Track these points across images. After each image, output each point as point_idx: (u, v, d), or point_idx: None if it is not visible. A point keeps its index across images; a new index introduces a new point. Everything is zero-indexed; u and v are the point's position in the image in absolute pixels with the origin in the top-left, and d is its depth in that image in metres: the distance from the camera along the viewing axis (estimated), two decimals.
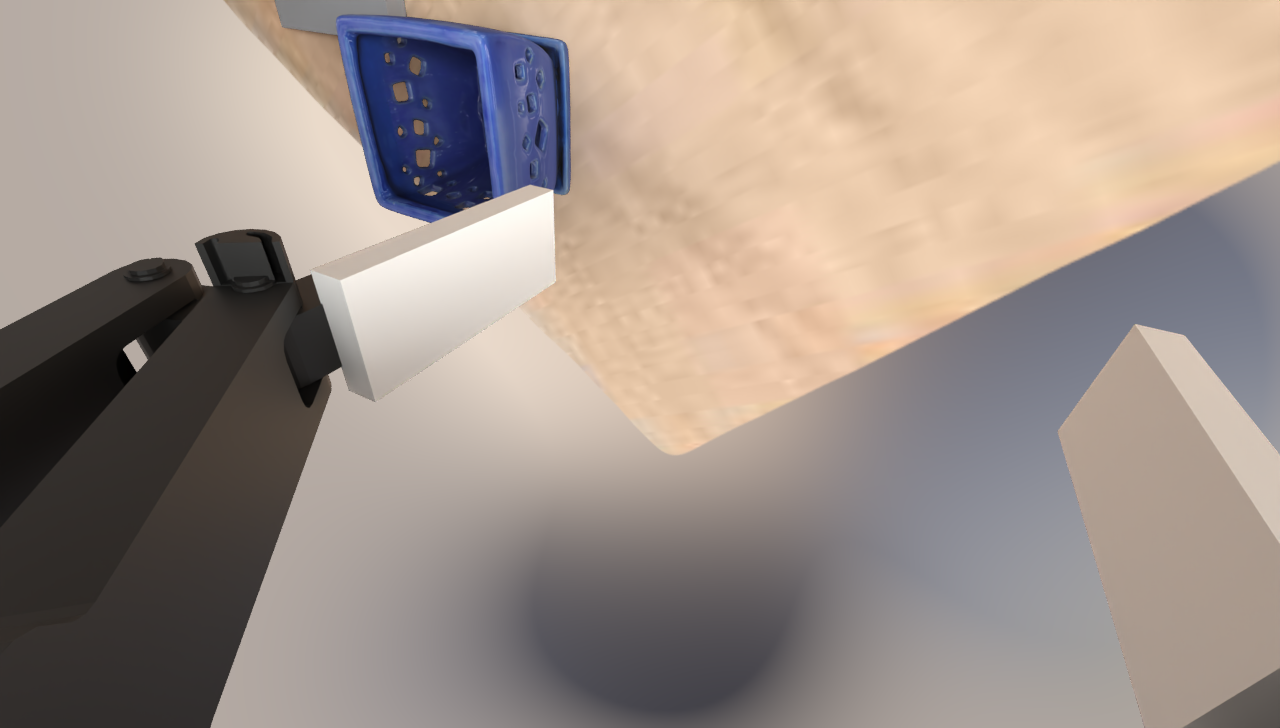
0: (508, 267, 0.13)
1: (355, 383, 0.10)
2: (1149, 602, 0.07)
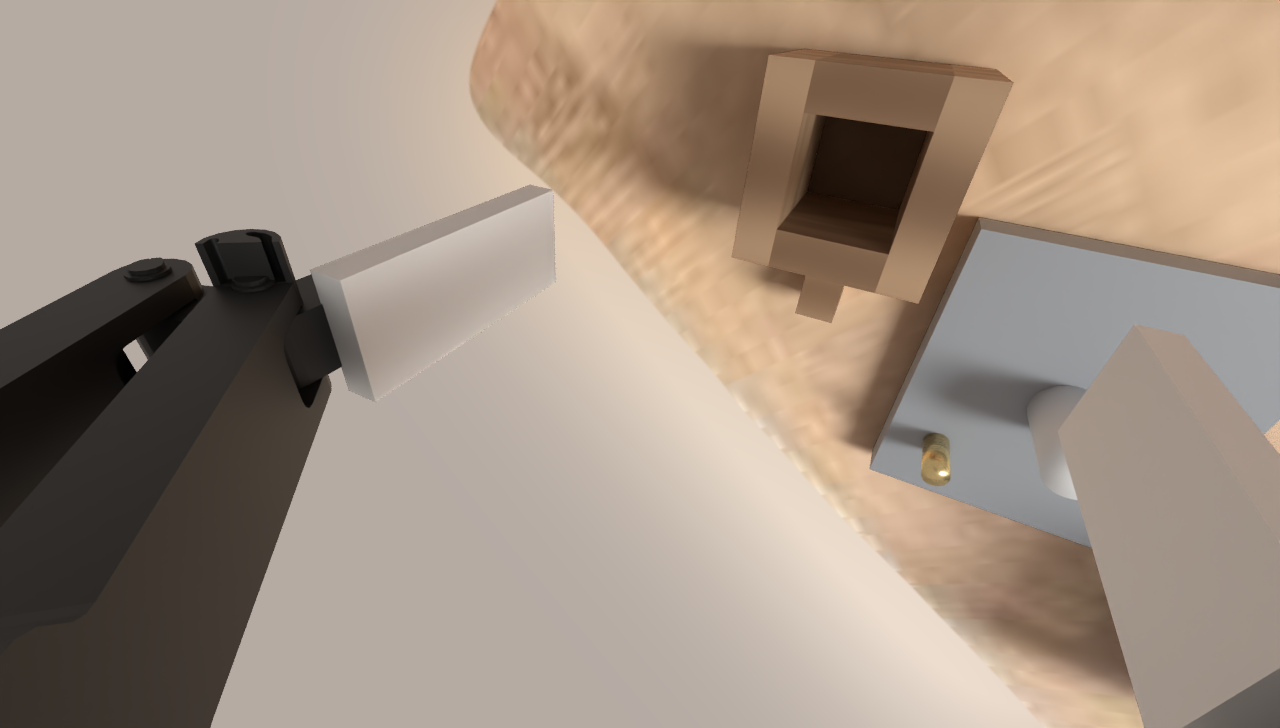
0: (508, 267, 0.13)
1: (355, 383, 0.10)
2: (1149, 602, 0.07)
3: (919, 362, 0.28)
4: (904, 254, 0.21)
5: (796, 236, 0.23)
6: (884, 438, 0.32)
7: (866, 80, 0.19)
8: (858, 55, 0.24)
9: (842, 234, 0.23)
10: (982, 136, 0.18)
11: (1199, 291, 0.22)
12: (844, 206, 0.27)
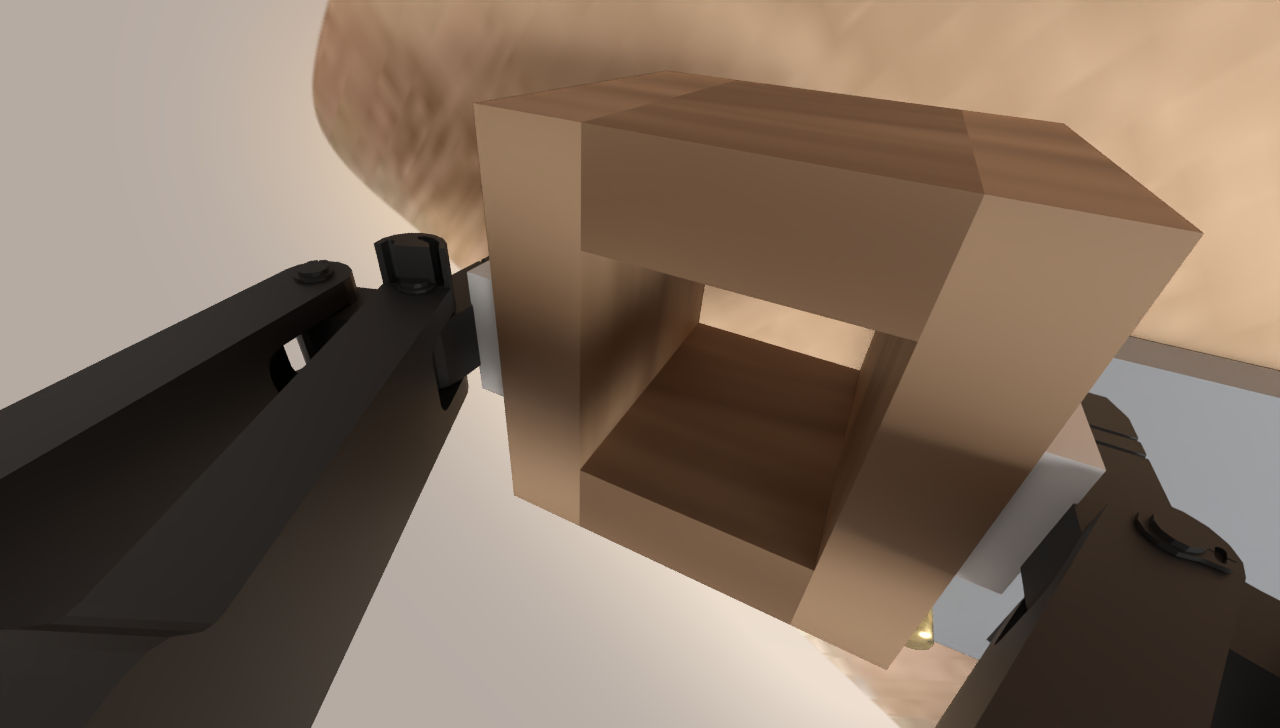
0: None
1: (491, 381, 0.11)
2: None
3: None
4: (849, 579, 0.09)
5: (620, 491, 0.10)
6: None
7: (720, 186, 0.06)
8: (763, 87, 0.11)
9: (724, 479, 0.11)
10: (1070, 376, 0.06)
11: None
12: (756, 366, 0.14)
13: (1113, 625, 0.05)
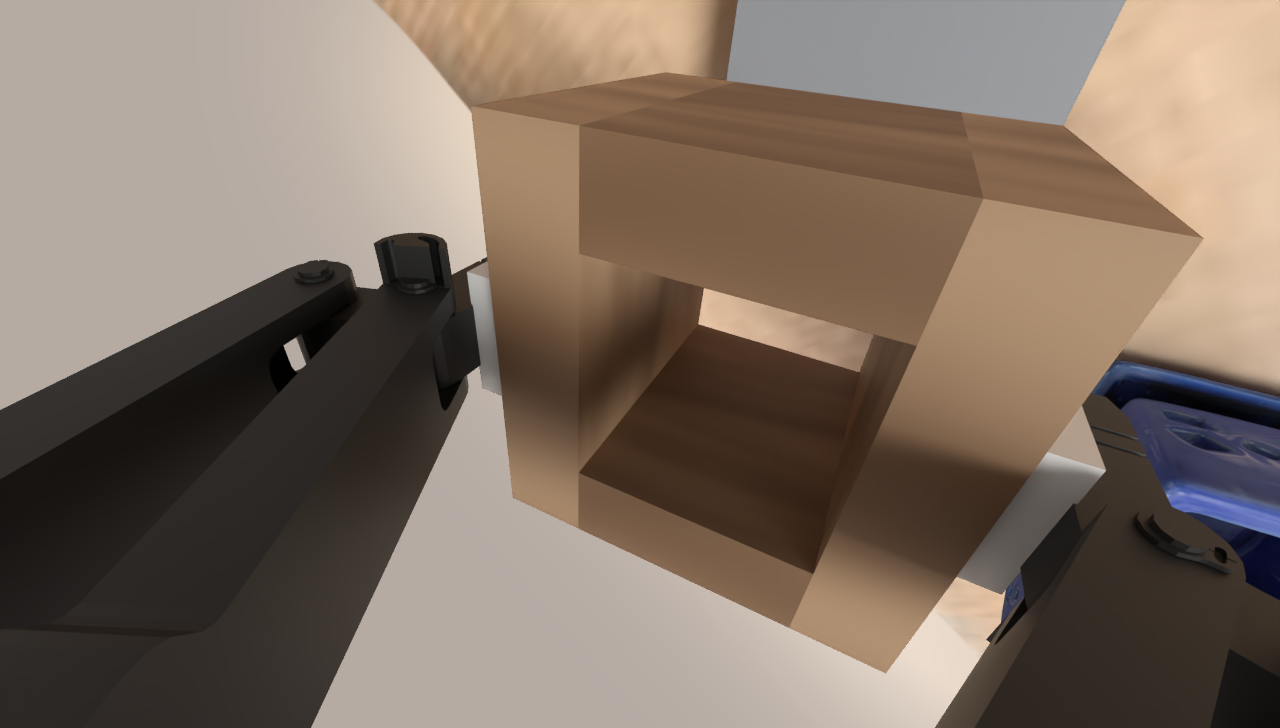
0: None
1: (491, 381, 0.11)
2: None
3: None
4: (849, 583, 0.09)
5: (619, 494, 0.10)
6: None
7: (717, 190, 0.06)
8: (763, 89, 0.11)
9: (723, 481, 0.11)
10: (1069, 381, 0.06)
11: None
12: (755, 368, 0.14)
13: (1113, 625, 0.05)
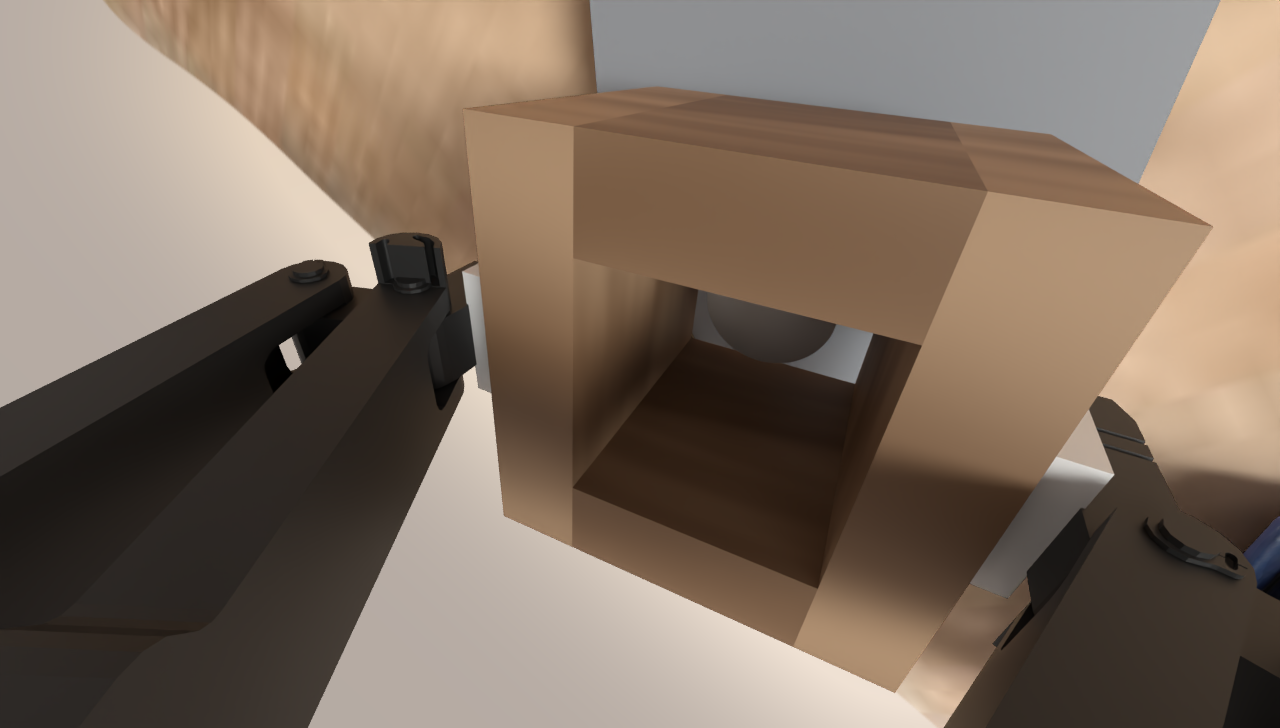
0: None
1: (487, 381, 0.11)
2: None
3: None
4: (855, 596, 0.08)
5: (614, 509, 0.10)
6: None
7: (716, 188, 0.06)
8: (754, 101, 0.11)
9: (722, 495, 0.10)
10: (1079, 377, 0.06)
11: None
12: (750, 380, 0.14)
13: (1122, 631, 0.05)
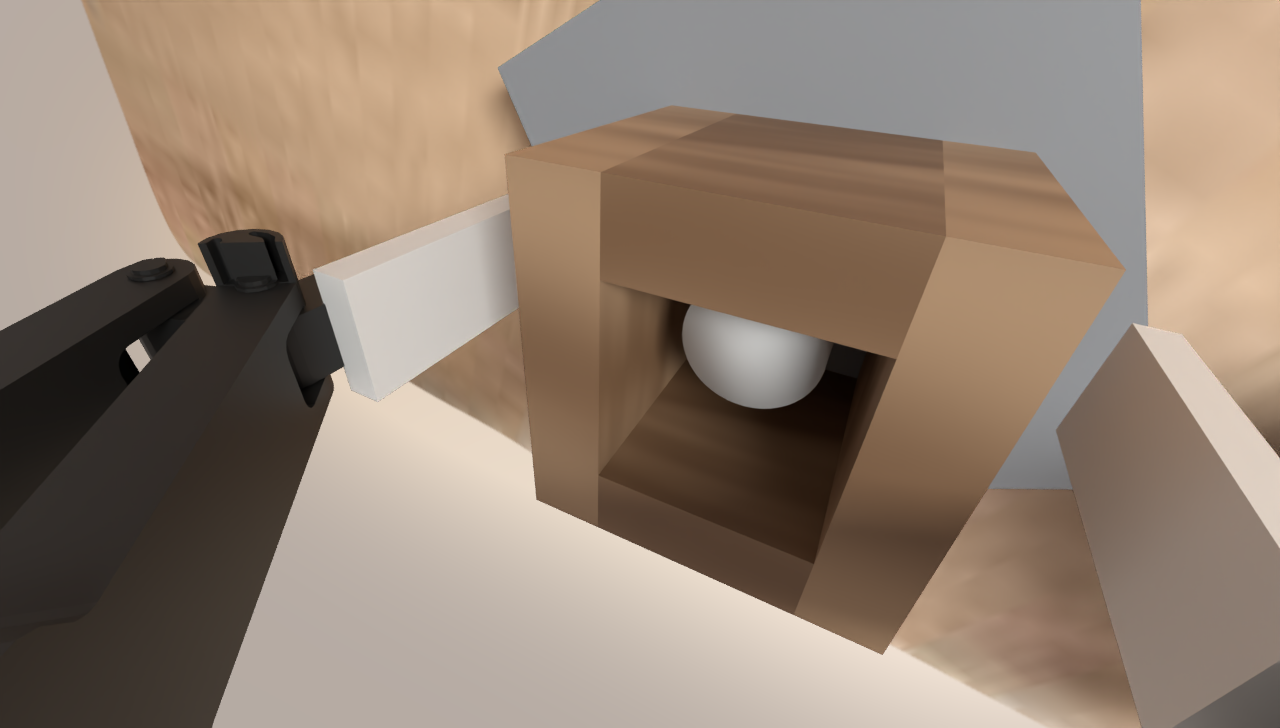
0: (510, 267, 0.13)
1: (357, 383, 0.10)
2: (1146, 599, 0.07)
3: None
4: (845, 570, 0.10)
5: (635, 494, 0.11)
6: None
7: (721, 227, 0.07)
8: (761, 121, 0.12)
9: (730, 482, 0.12)
10: (1026, 388, 0.07)
11: None
12: None
13: None
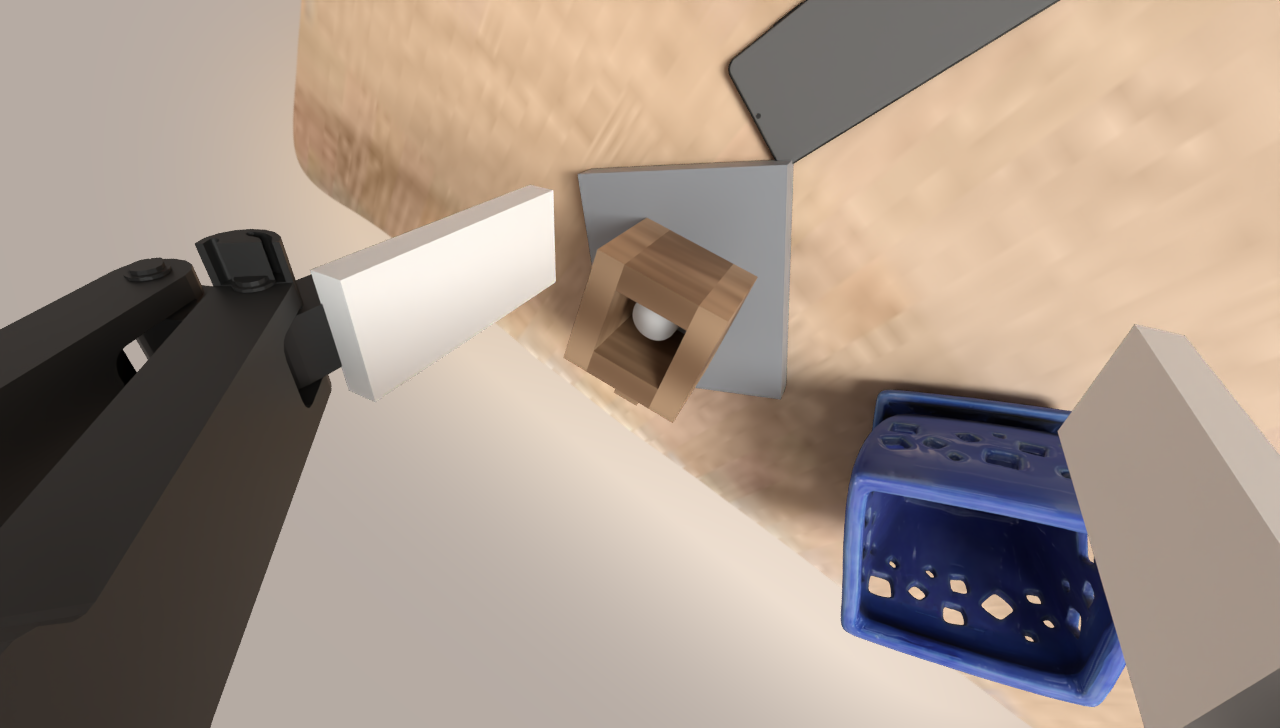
0: (508, 267, 0.13)
1: (355, 383, 0.10)
2: (1149, 602, 0.07)
3: None
4: (666, 391, 0.32)
5: (605, 359, 0.33)
6: None
7: (652, 287, 0.29)
8: (677, 238, 0.34)
9: (637, 363, 0.34)
10: (711, 343, 0.29)
11: (697, 181, 0.32)
12: None
13: None
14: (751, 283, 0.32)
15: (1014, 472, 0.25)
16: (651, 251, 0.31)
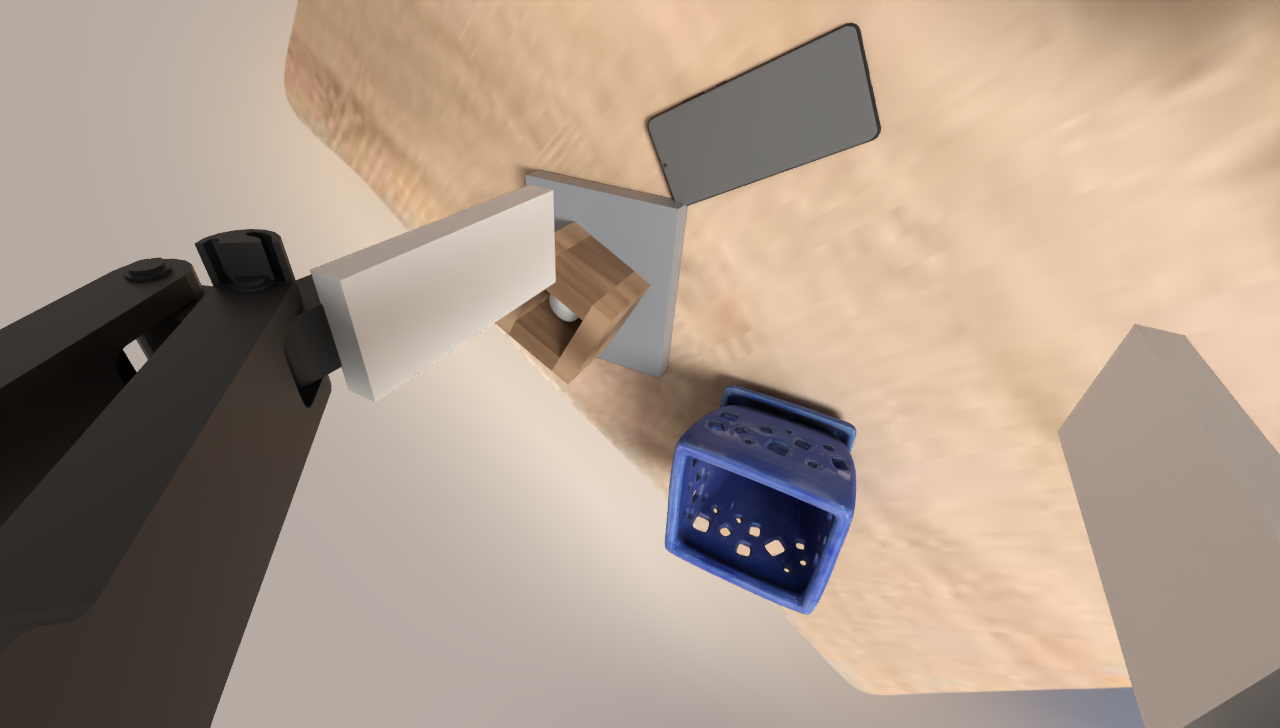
0: (508, 267, 0.13)
1: (355, 383, 0.10)
2: (1149, 602, 0.07)
3: None
4: (565, 361, 0.42)
5: (523, 328, 0.43)
6: None
7: (561, 285, 0.39)
8: (594, 243, 0.43)
9: (549, 335, 0.44)
10: (599, 333, 0.39)
11: (614, 204, 0.41)
12: None
13: None
14: (643, 290, 0.42)
15: (779, 457, 0.37)
16: (568, 254, 0.41)
